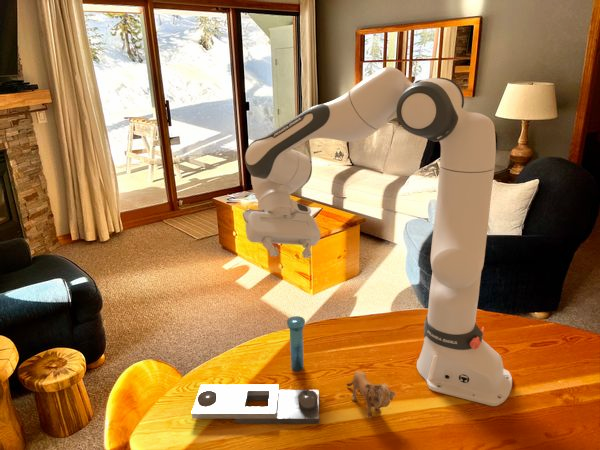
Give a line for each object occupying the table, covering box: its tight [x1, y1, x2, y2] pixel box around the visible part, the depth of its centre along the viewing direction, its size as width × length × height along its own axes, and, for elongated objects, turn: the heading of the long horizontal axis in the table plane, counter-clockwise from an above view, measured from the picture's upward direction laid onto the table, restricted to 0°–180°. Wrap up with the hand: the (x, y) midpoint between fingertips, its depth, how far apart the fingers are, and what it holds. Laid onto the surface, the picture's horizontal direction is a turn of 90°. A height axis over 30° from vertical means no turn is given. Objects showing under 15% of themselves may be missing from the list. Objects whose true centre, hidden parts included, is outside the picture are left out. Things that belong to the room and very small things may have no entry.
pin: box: [286, 315, 306, 372], centre depth 117 cm, size 4×4×14 cm
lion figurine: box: [346, 370, 396, 419], centre depth 105 cm, size 15×5×9 cm, turn 33°
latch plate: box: [191, 384, 320, 425], centre depth 105 cm, size 28×9×4 cm, turn 88°
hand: (291, 255), depth 113 cm, fingers open, 8 cm apart
